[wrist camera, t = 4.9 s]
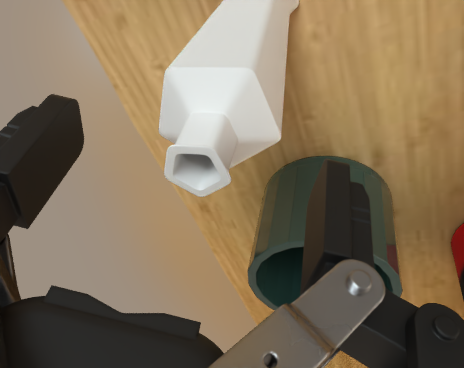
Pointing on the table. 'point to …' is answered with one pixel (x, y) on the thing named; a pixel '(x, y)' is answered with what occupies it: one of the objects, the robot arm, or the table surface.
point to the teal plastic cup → (294, 223)
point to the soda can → (459, 254)
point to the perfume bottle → (225, 93)
